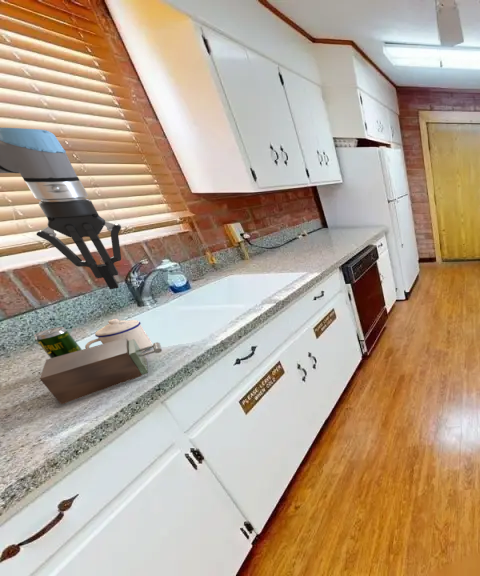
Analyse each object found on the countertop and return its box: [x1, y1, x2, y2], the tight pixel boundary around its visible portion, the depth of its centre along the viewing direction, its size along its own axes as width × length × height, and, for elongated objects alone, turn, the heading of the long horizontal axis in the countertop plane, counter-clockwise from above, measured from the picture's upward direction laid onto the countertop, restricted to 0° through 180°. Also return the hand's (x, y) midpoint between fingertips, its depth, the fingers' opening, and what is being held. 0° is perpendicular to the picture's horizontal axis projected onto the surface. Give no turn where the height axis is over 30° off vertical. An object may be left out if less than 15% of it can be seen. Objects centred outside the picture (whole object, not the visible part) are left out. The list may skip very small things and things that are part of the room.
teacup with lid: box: [84, 318, 153, 353], centre depth 93 cm, size 12×9×12 cm
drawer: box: [128, 339, 163, 376], centre depth 84 cm, size 17×10×7 cm, turn 141°
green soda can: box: [33, 326, 83, 359], centre depth 87 cm, size 5×5×12 cm
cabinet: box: [39, 338, 143, 405], centre depth 81 cm, size 14×12×9 cm
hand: (114, 287), depth 81 cm, fingers closed
